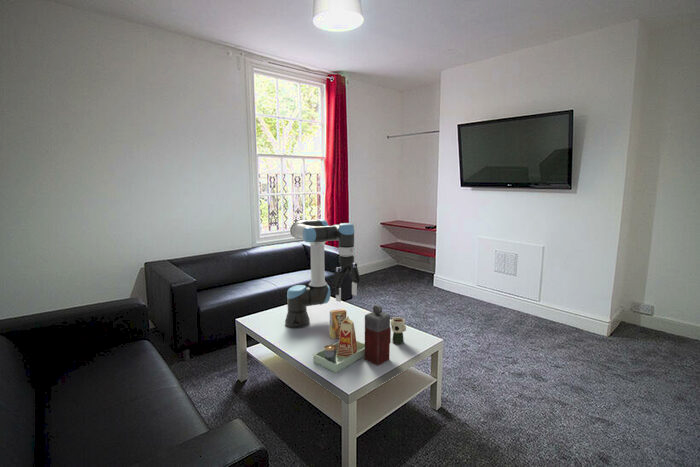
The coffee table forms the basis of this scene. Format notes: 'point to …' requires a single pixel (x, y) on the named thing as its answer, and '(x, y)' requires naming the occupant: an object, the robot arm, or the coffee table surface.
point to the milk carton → (347, 339)
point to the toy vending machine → (377, 336)
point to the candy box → (336, 322)
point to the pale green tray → (339, 358)
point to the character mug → (398, 329)
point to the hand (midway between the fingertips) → (346, 297)
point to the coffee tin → (330, 353)
